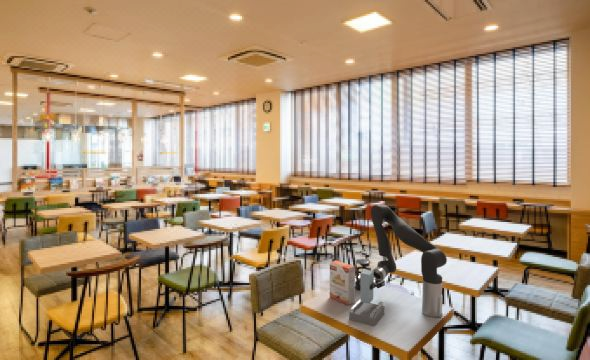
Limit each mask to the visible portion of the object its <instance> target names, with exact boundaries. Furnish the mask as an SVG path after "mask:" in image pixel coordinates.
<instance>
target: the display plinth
mask: <svg viewBox="0 0 590 360" xmlns="http://www.w3.org/2000/svg"><path fill="white" fill-rule="evenodd" d="M384 315H385V306H384V302H383V301H380V302H379V303H378V304H375V303H372V302H370V303H369V304H367V303H363V302H360V299H359V300H358V301H356V303H355V304H353V305H352V307H350V310H349V311H348V319H349V320H350V321H353V322H355V323H360V324H364V325H368V326H371V327H375V326H376V325H377V324H378V323H379V322H380V320H381V318H382V317H383V316H384Z"/></svg>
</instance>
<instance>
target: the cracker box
mask: <svg viewBox="0 0 590 360" xmlns="http://www.w3.org/2000/svg"><path fill="white" fill-rule="evenodd" d="M355 268H356V266H354V265H352V264H349V263H345V262H342V261H340V260H333V261H330V262H329V298H330V299H333V300H335V301H338V302H340V303H341V304H345V305H347V306H350V305H352V304H353V303H355V300H356V299H355V298H356V295H355V293H356V291H355V290H356V289H355V282H356V276H355V275H356V271H355Z"/></svg>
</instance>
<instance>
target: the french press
mask: <svg viewBox="0 0 590 360" xmlns="http://www.w3.org/2000/svg"><path fill="white" fill-rule="evenodd" d="M359 253H360V254H361V255H362V256H364V254H366V253H367V251H366V250H360V251H359ZM357 264H358V265H360V266H357V267H356V266H355V275H356V276H355V290H356V291H359V292H360V289H361V288H360V286H359V278H360V276H361V272H363V271H364V270H365V269H366V270H371V271H372V267H370V266H371V265H370V264H371V260H369V259H366V258H360V259H359V258H358V259H355V265H357ZM360 270H362V271H360ZM359 274H360V275H359Z"/></svg>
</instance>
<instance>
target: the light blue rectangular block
mask: <svg viewBox="0 0 590 360" xmlns="http://www.w3.org/2000/svg"><path fill="white" fill-rule="evenodd" d="M360 276H361V289H360V291H359V292H360V297H359V298H360V299H359V300H360V302H363V303H367V304H369V303H372V301H373V300H374V289H372V290H370V285H371V284H372V283H373V279H374V271H372V269H371V270H367V269H363V272H362V271H361V274H360Z"/></svg>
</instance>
